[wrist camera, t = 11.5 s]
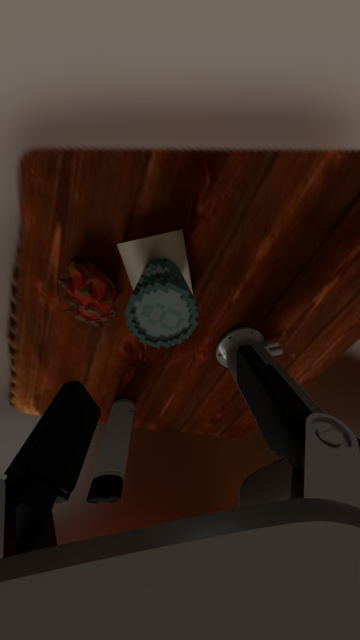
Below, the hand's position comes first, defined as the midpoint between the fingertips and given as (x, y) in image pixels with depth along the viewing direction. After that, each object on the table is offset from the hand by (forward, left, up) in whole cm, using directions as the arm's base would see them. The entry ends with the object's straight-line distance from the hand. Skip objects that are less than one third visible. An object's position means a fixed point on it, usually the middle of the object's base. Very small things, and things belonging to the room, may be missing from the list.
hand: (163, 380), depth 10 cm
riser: (0, -2, -24) cm, 24 cm away
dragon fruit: (+12, -1, -25) cm, 28 cm away
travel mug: (+20, +33, -25) cm, 46 cm away
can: (0, -1, -21) cm, 21 cm away
